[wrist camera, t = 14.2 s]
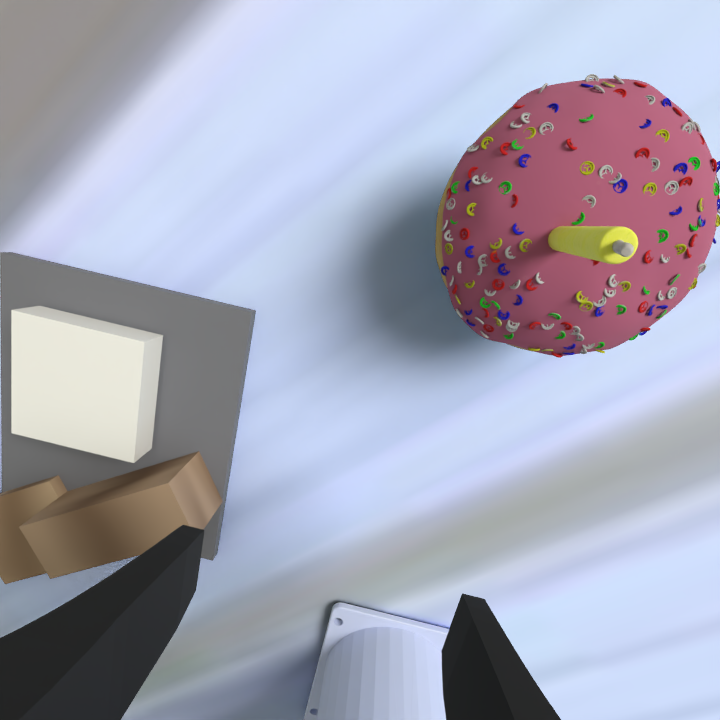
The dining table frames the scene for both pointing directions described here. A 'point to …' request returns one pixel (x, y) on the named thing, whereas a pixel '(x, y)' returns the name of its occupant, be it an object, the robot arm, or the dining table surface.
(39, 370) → the block
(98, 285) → the mat
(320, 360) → the dining table surface
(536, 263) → the cupcake
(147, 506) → the overlapping tan boards
